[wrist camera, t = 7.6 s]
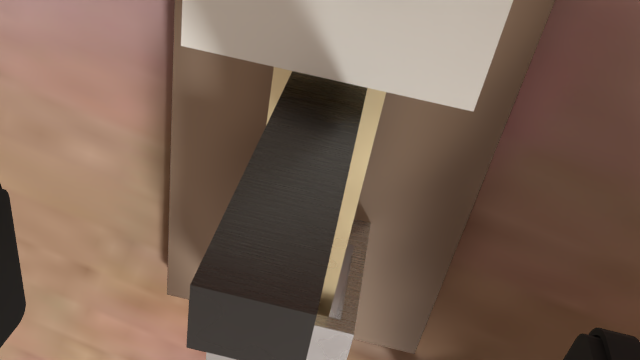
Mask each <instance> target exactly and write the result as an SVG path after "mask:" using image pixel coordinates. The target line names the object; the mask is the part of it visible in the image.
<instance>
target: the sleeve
mask: <svg viewBox="0 0 640 360" xmlns="http://www.w3.org/2000/svg"><path fill="white" fill-rule="evenodd" d="M370 225H371V223H368V222H364V221H360V220H356V219H354V220H353V224H352V228H351V232H350V236H349V240H348V244H347V248H346V252H345V256H344V260H343V263H342V267H341V271H340V275H339V279H338V283H337V287H336V291H335V295H334V299H333V302H332V306H331V310H330V314H329V317H328V316H323V315H319V314H317V316H316V321H315V325H314V329H313V333H312V337H311V342H310V346H309V350H308V354H307V358H306V360H347V357H348V353H349V350H350V347H351V343H352V340H353V336H354V332H355V325H356V318H357V312H358V305H359V298H360V292H361V285H362V278H363V272H364V265H365V258H366V252H367V245H368V238H369V232H370ZM206 360H236V359H232V358H228V357H224V356H220V355H216V354H212V353H207V354H206Z"/></svg>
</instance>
